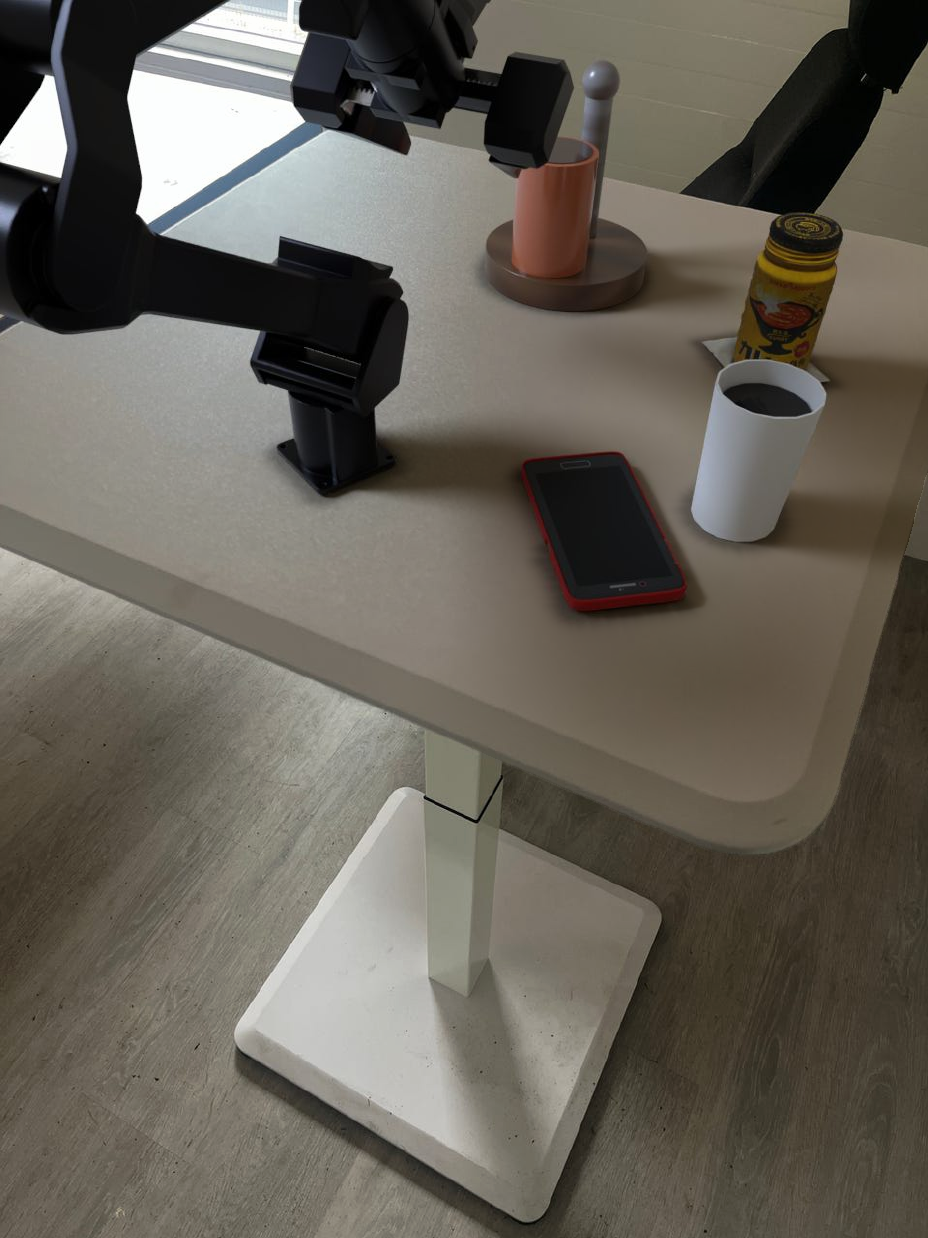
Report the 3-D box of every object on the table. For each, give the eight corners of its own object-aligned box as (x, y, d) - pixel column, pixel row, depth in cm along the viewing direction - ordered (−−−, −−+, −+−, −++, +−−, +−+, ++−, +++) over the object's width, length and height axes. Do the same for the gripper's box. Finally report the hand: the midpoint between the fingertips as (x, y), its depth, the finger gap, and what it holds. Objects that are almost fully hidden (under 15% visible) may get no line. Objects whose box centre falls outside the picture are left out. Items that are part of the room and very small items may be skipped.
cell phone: (620, 459, 68) (622, 448, 67) (689, 601, 58) (692, 590, 57) (517, 469, 67) (518, 458, 66) (569, 615, 57) (570, 604, 56)
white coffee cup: (737, 560, 61) (777, 432, 54) (664, 506, 65) (692, 380, 57) (803, 521, 64) (849, 395, 57) (729, 472, 67) (764, 348, 60)
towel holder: (599, 328, 81) (628, 116, 69) (454, 281, 87) (457, 77, 74) (668, 263, 90) (705, 65, 78) (533, 224, 96) (547, 33, 83)
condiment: (750, 396, 74) (791, 249, 66) (700, 343, 80) (732, 201, 71) (829, 383, 76) (880, 238, 67) (776, 332, 82) (816, 191, 73)
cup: (601, 265, 84) (616, 153, 77) (543, 285, 81) (553, 171, 74) (552, 237, 88) (562, 128, 81) (495, 256, 85) (501, 144, 78)
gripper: (583, -99, 52) (616, 77, 67) (298, -132, 57) (387, 38, 72) (517, 92, 52) (564, 224, 67) (239, 42, 58) (340, 175, 73)
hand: (461, 160), depth 70 cm, fingers open, 9 cm apart
